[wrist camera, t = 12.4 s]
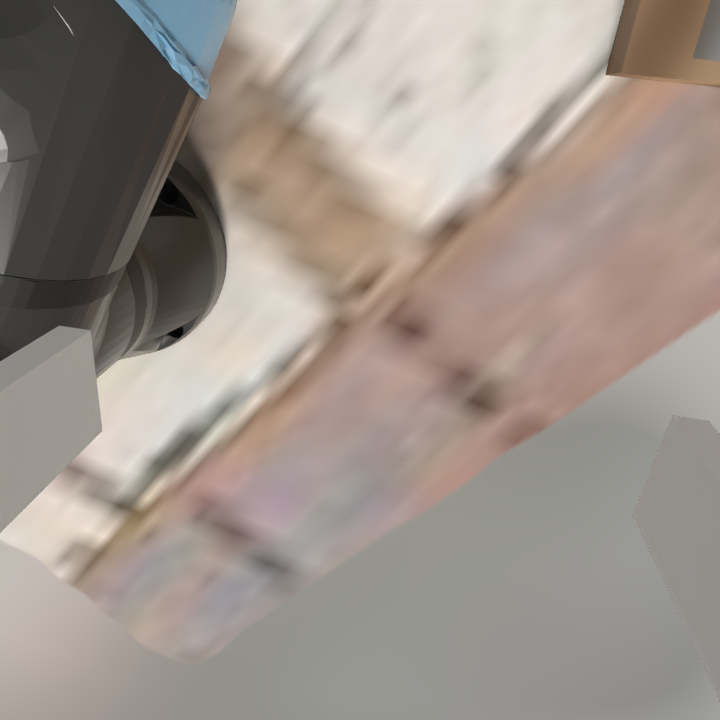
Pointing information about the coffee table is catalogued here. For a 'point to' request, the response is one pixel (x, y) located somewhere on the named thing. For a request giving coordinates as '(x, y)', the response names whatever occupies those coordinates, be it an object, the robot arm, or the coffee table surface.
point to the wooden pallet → (668, 41)
